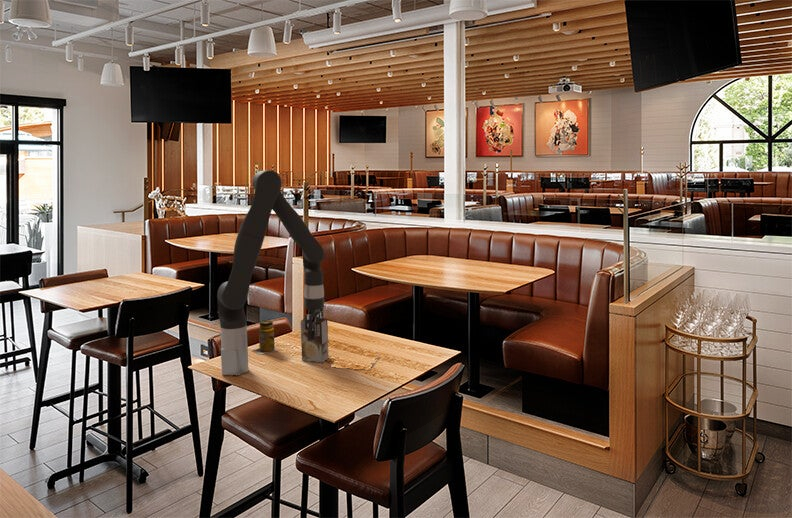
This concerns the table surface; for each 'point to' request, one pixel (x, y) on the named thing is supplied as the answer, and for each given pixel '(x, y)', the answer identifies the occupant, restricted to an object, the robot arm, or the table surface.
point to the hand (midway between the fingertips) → (314, 336)
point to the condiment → (266, 338)
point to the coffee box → (315, 342)
